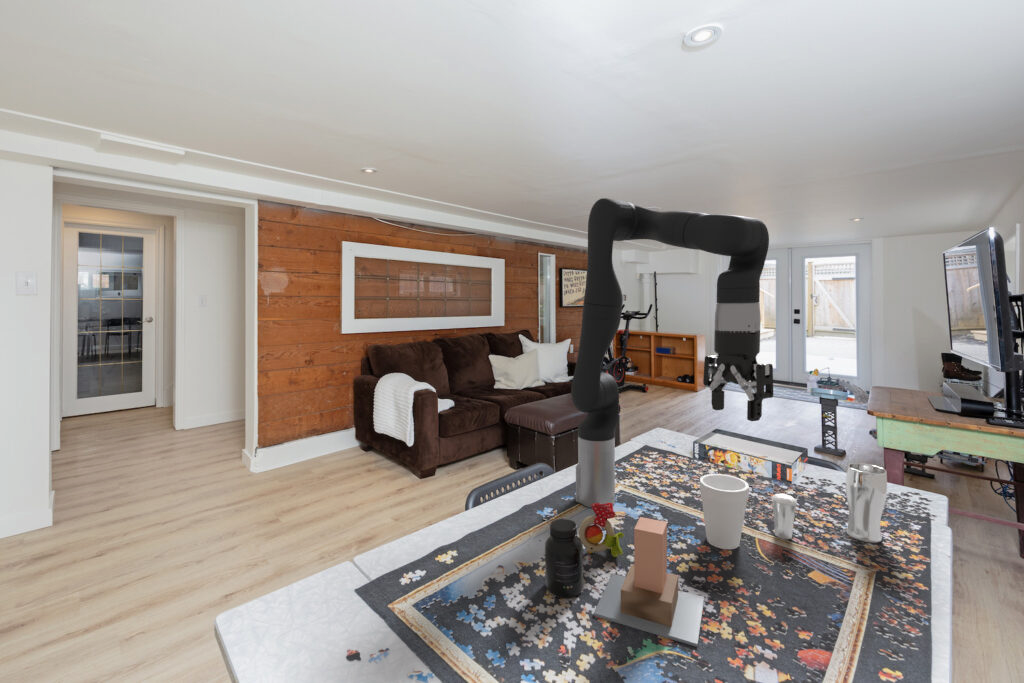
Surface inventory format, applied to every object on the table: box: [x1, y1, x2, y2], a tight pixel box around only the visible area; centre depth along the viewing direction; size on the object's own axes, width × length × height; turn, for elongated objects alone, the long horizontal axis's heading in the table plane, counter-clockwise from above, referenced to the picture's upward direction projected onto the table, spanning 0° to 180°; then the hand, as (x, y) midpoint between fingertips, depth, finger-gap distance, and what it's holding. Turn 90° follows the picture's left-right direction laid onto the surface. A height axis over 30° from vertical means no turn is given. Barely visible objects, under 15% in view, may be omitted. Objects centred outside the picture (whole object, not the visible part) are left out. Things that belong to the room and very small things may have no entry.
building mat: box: [593, 573, 705, 648], centre depth 77 cm, size 16×12×1 cm
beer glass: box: [845, 462, 888, 544], centre depth 98 cm, size 7×7×15 cm
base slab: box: [621, 563, 679, 627], centre depth 77 cm, size 8×8×4 cm
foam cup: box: [699, 473, 750, 550], centre depth 97 cm, size 10×9×13 cm
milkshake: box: [771, 491, 801, 540], centre depth 99 cm, size 4×5×10 cm
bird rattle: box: [578, 503, 625, 558], centre depth 94 cm, size 6×11×9 cm
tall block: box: [633, 516, 668, 594], centre depth 77 cm, size 4×4×10 cm
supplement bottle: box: [544, 518, 584, 599], centre depth 83 cm, size 7×7×12 cm
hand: (735, 414), depth 85 cm, fingers open, 8 cm apart
